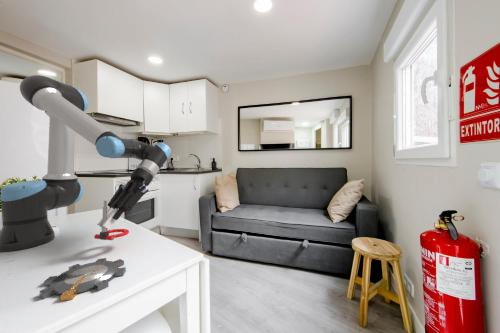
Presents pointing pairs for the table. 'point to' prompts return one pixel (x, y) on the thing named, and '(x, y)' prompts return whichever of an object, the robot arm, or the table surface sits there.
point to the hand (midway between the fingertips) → (103, 227)
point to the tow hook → (105, 234)
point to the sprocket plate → (83, 279)
